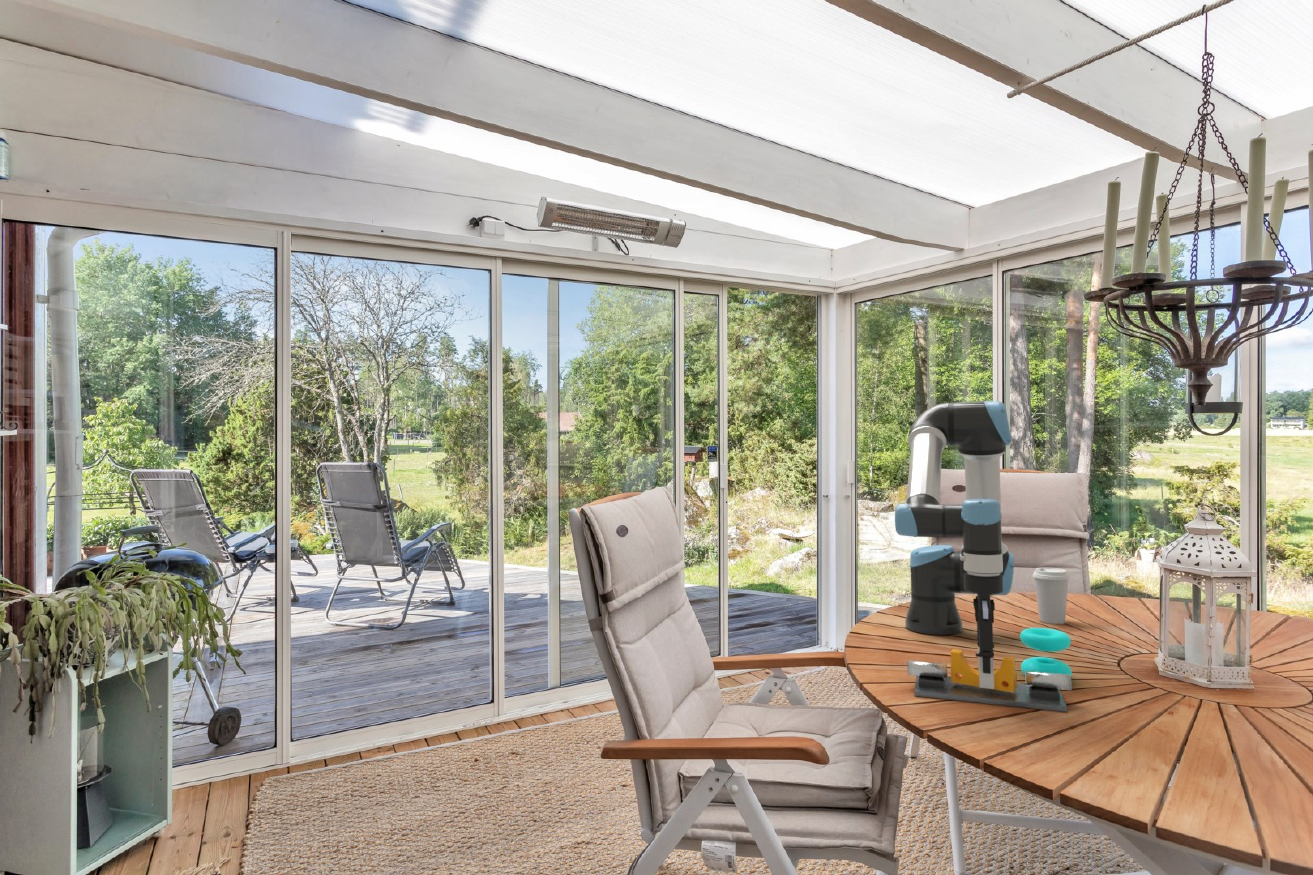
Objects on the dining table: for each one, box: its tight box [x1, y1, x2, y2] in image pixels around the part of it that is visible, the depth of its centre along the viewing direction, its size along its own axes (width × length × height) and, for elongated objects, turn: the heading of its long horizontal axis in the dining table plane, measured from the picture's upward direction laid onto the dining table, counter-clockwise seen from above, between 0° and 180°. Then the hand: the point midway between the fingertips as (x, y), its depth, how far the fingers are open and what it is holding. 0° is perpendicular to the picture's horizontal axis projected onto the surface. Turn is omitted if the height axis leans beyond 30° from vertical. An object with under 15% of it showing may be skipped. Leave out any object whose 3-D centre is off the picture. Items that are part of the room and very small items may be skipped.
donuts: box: [1019, 627, 1073, 677], centre depth 158 cm, size 10×10×10 cm
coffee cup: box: [1032, 567, 1071, 625], centre depth 205 cm, size 10×10×15 cm
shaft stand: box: [907, 659, 1072, 713], centre depth 148 cm, size 12×31×6 cm, turn 68°
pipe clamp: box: [950, 648, 1018, 693], centre depth 148 cm, size 12×4×6 cm, turn 54°
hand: (986, 683), depth 148 cm, fingers closed on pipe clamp, 5 cm apart
